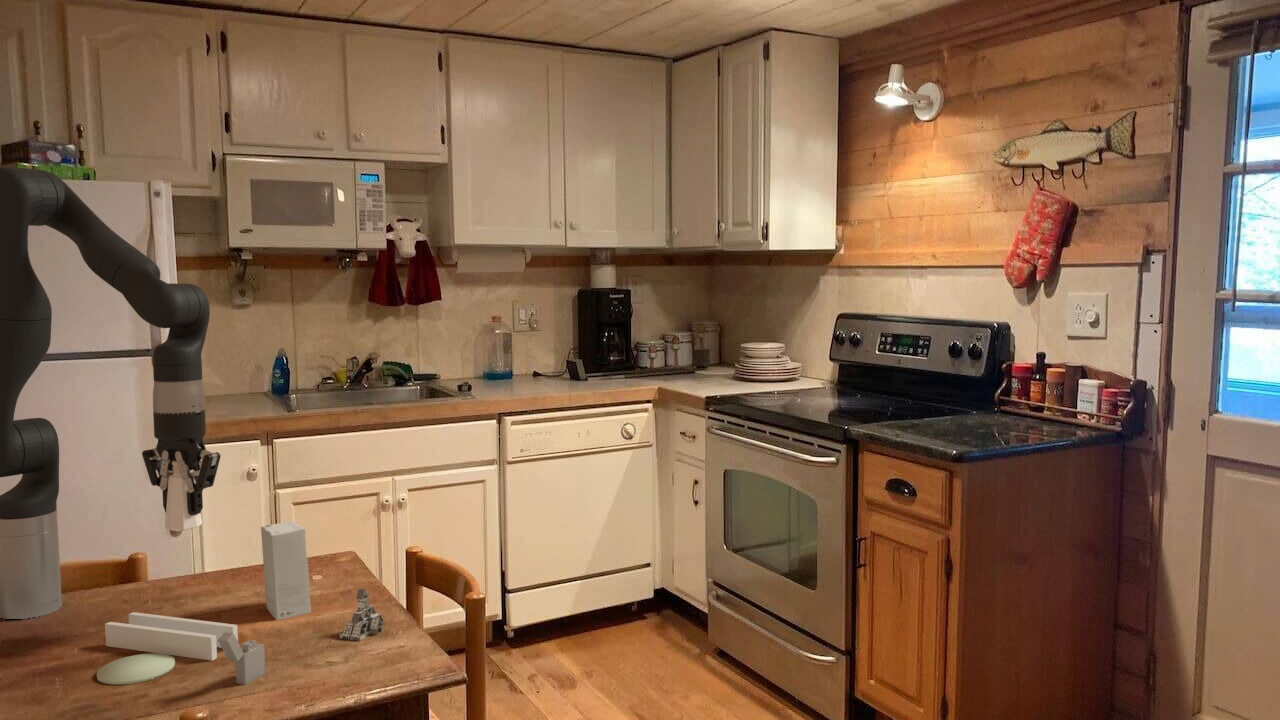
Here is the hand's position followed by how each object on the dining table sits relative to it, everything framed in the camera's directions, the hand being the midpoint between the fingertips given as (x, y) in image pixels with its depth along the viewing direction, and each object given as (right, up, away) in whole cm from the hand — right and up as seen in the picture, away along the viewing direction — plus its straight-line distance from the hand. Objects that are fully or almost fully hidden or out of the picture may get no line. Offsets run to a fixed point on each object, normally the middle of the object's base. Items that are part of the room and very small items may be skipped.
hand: (183, 512), depth 152 cm
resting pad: (+1, -20, -16) cm, 26 cm away
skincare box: (+14, -19, +8) cm, 24 cm away
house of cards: (+32, -20, -3) cm, 37 cm away
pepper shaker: (0, -2, 0) cm, 3 cm away
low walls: (+2, -20, -7) cm, 21 cm away
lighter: (+18, -21, -20) cm, 34 cm away
